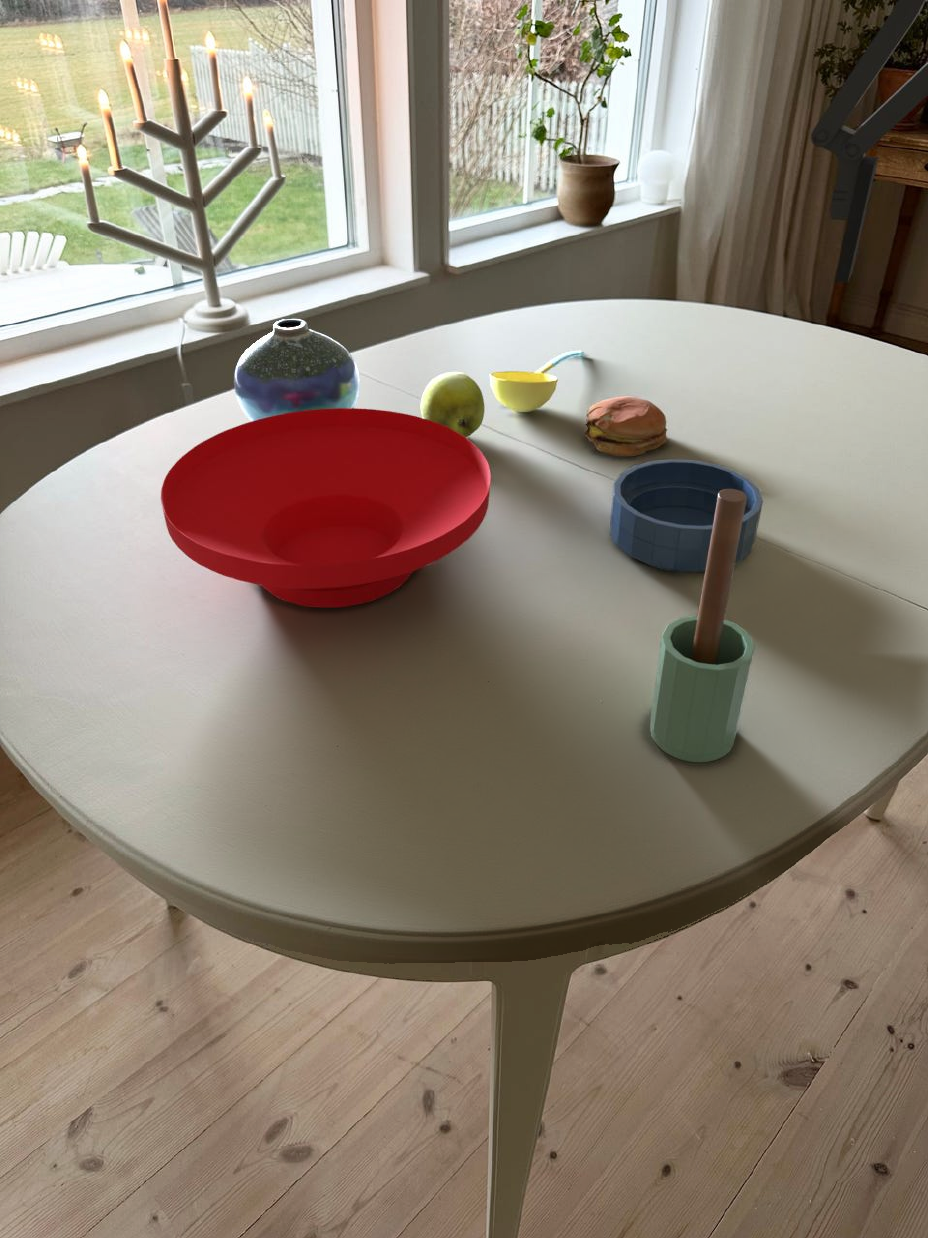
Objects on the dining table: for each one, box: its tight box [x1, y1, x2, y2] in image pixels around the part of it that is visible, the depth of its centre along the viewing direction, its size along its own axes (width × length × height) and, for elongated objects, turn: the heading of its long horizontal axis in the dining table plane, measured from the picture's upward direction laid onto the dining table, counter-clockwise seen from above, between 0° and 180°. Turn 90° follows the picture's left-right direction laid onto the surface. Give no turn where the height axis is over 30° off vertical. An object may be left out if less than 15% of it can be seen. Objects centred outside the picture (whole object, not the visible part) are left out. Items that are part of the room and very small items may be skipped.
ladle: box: [489, 350, 585, 413], centre depth 127 cm, size 9×26×6 cm, turn 154°
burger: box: [583, 395, 668, 458], centre depth 112 cm, size 10×9×5 cm
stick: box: [691, 489, 747, 665], centre depth 65 cm, size 2×3×20 cm, turn 155°
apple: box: [420, 371, 485, 438], centre depth 113 cm, size 8×9×8 cm
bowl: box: [160, 407, 492, 608], centre depth 89 cm, size 30×30×10 cm
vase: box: [233, 318, 360, 422], centre depth 114 cm, size 15×15×13 cm
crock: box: [649, 614, 756, 763], centre depth 69 cm, size 6×6×9 cm
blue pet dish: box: [609, 458, 764, 573], centre depth 93 cm, size 14×14×6 cm
